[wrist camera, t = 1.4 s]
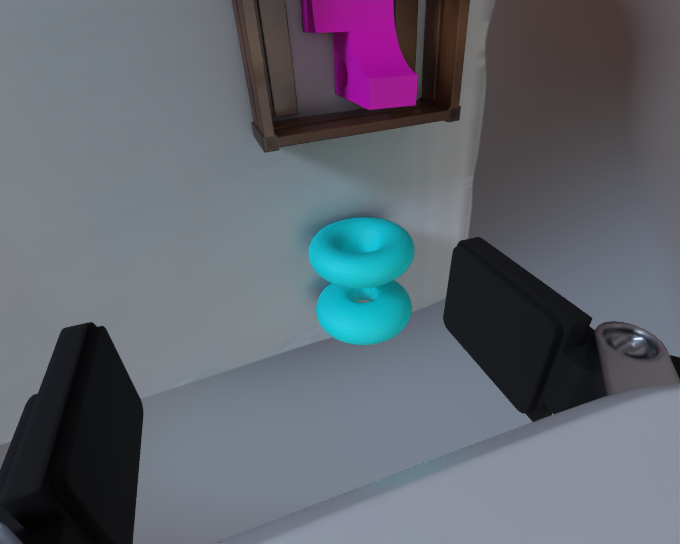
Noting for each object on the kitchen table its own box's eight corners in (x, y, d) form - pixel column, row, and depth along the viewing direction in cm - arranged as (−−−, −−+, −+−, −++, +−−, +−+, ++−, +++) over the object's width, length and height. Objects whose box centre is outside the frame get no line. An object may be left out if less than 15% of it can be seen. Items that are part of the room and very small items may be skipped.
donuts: (307, 302, 45) (335, 363, 37) (295, 224, 39) (325, 277, 31) (386, 281, 47) (428, 334, 39) (386, 204, 42) (436, 248, 34)
